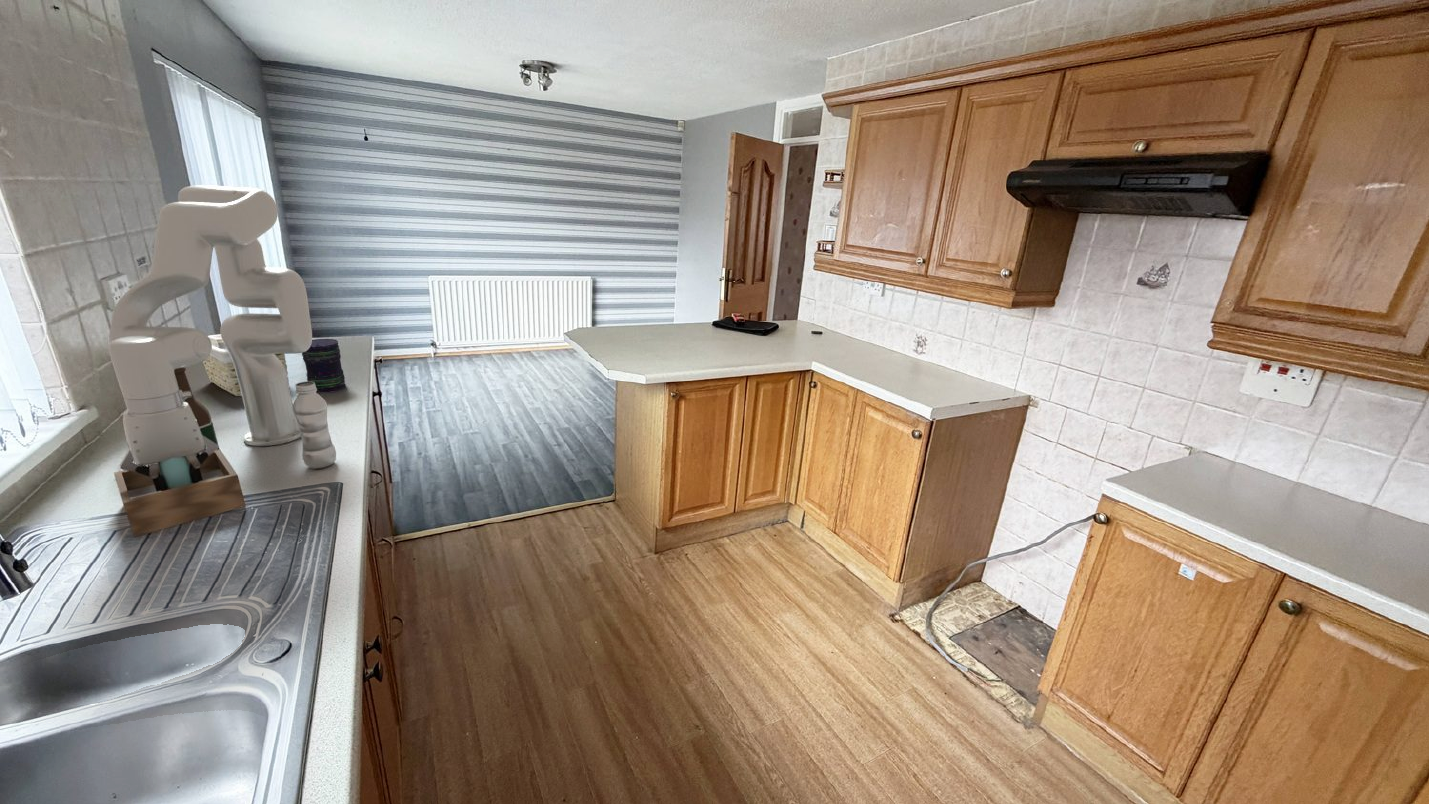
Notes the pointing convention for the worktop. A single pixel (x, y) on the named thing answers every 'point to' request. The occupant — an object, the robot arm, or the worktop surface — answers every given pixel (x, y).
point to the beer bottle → (196, 407)
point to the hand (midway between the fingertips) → (180, 488)
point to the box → (179, 496)
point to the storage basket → (226, 367)
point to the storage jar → (324, 365)
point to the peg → (176, 472)
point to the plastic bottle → (313, 426)
